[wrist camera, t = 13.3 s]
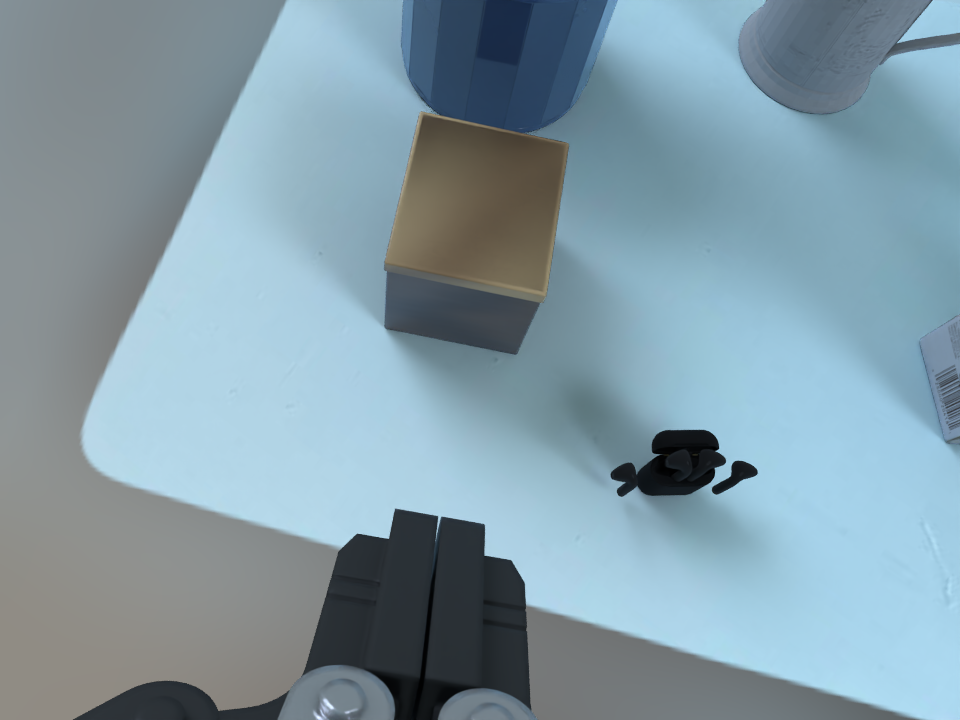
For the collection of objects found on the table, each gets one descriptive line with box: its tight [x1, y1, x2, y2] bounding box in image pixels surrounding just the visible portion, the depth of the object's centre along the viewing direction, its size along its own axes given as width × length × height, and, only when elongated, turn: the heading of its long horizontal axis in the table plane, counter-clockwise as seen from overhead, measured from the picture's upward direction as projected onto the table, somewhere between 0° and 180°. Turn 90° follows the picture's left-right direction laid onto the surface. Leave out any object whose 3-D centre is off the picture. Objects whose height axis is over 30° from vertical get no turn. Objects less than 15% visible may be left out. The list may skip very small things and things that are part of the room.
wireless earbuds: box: [611, 430, 758, 497], centre depth 40 cm, size 7×2×5 cm, turn 93°
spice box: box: [384, 111, 569, 354], centre depth 41 cm, size 7×8×8 cm
